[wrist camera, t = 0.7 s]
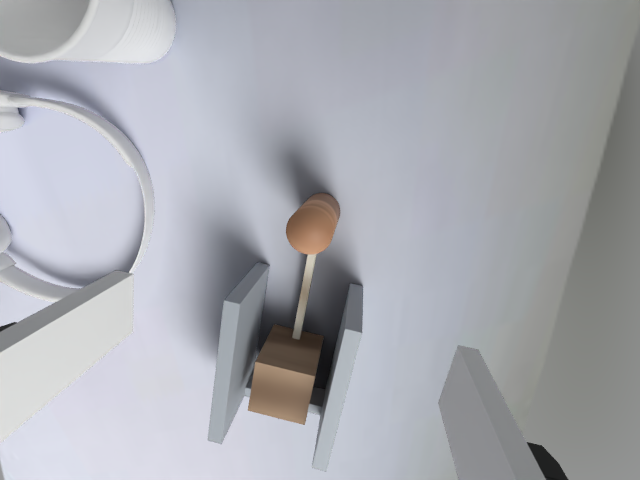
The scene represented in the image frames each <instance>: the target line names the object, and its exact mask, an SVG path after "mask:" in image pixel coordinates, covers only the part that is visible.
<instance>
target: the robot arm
mask: <svg viewBox="0 0 640 480" xmlns="http://www.w3.org/2000/svg"><path fill="white" fill-rule="evenodd" d="M133 283H134V274H132V273H127V272H123V271H118V270H115V271H113V272H111V273H109V274H108V275H106V276H104V277H102V278H100V279H98V280H96V281H95V282H93V283H91V284H89V285H87V286H85V287H83V288H81V289H80V290H78V291H76V292H74V293H72V294H70V295H68V296H66V297H65V298H63V299H61V300H59V301H57V302H55V303H53V304H51V305H50V306H48V307H46V308H44V309H42V310H40V311H38V312H36V313H35V314H33V315H31V316H29V317H27V318H25V319H23V320H21V321H20V322H18V323H16V322H14V323H11V324H7V325H4V326H1V327H0V443H1V442H3V441H4V440H5V439H6V438H7V437H8V436H10V435H11V434H12V433H13V432H14V431H16V430H17V429H18V428H19V427H20V426H22V425H23V424H24V423H25V422H26V421H28V420H29V419H30V418H31V417H32V416H34V415H35V414H36V413H37V412H38V411H40V410H41V409H42V408H43V407H44V406H45V405H47V404H48V403H49V402H50V401H51V400H53V399H54V398H55V397H56V396H57V395H59V394H60V393H61V392H62V391H63V390H65V389H66V388H67V387H68V386H69V385H71V384H72V383H73V382H74V381H75V380H76V379H78V378H79V377H80V376H81V375H82V374H84V373H85V372H86V371H87V370H88V369H90V368H91V367H92V366H93V365H94V364H96V363H97V362H98V361H99V360H100V359H102V358H103V357H104V356H105V355H106V354H108V353H109V352H110V351H111V350H112V349H113V348H115V347H116V346H117V345H118V344H119V343H121V342H122V341H123V340H124V339H125V338H127V337H128V336H129V335H130V334H131V333H133ZM438 404H439V408H440V412H441V415H442V419H443V423H444V427H445V430H446V434H447V438H448V442H449V445H450V449H451V453H452V457H453V460H454V464H455V468H456V472H457V475H458V479H459V480H568V479H567V477H566V475H565V473H564V472H563V470H562V468H561V467H560V465H559V464H558V462H557V461H556V460H555V459H554V458H553V457H552V456H551V455H550V454H549V453H548V452H547V451H546V449H545V448H544V447H543V446H541V445H537V444H533V443H528V442H526V440H525V438H524V437H523V435H522V433H521V431H520V429H519V427H518V425H517V423H516V421H515V419H514V417H513V415H512V413H511V412H510V410H509V408H508V406H507V404H506V402H505V400H504V398H503V396H502V394H501V392H500V390H499V388H498V387H497V385H496V383H495V381H494V379H493V377H492V375H491V373H490V371H489V369H488V367H487V365H486V363H485V362H484V360H483V358H482V356H481V354H480V352H479V350H478V349H473V348H469V347H464V346H460V345H458V346H457V349H456V352H455V355H454V358H453V361H452V364H451V367H450V370H449V373H448V376H447V379H446V382H445V384H444V387H443V390H442V393H441V396H440V399H439V402H438Z"/></svg>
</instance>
